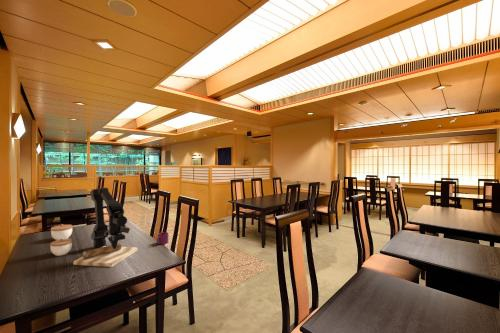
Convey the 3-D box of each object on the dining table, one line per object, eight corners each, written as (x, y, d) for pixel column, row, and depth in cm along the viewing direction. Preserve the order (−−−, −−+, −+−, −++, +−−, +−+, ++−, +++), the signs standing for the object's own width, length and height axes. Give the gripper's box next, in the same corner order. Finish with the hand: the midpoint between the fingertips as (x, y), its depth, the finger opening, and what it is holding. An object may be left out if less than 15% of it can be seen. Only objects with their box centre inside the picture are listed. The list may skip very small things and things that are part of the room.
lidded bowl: (75, 238, 172) (75, 223, 172) (54, 243, 161) (54, 227, 161) (68, 235, 179) (68, 221, 179) (48, 239, 168) (48, 224, 168)
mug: (170, 242, 166) (170, 232, 166) (160, 246, 156) (160, 236, 156) (162, 240, 168) (162, 231, 168) (152, 245, 159) (152, 235, 159)
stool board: (73, 264, 128) (73, 260, 128) (104, 248, 152) (104, 245, 152) (111, 266, 125) (111, 262, 125) (137, 250, 149) (137, 247, 149)
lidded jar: (73, 253, 143) (73, 238, 143) (51, 258, 135) (51, 243, 135) (70, 249, 150) (70, 235, 150) (49, 253, 142) (49, 238, 142)
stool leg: (83, 258, 130) (83, 253, 130) (82, 256, 132) (82, 251, 132) (121, 249, 145) (121, 244, 145) (119, 247, 147) (119, 243, 147)
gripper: (134, 223, 141) (134, 248, 141) (122, 219, 153) (123, 242, 153) (114, 227, 132) (114, 254, 132) (103, 222, 145) (104, 246, 145)
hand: (114, 248), depth 141 cm, fingers closed
